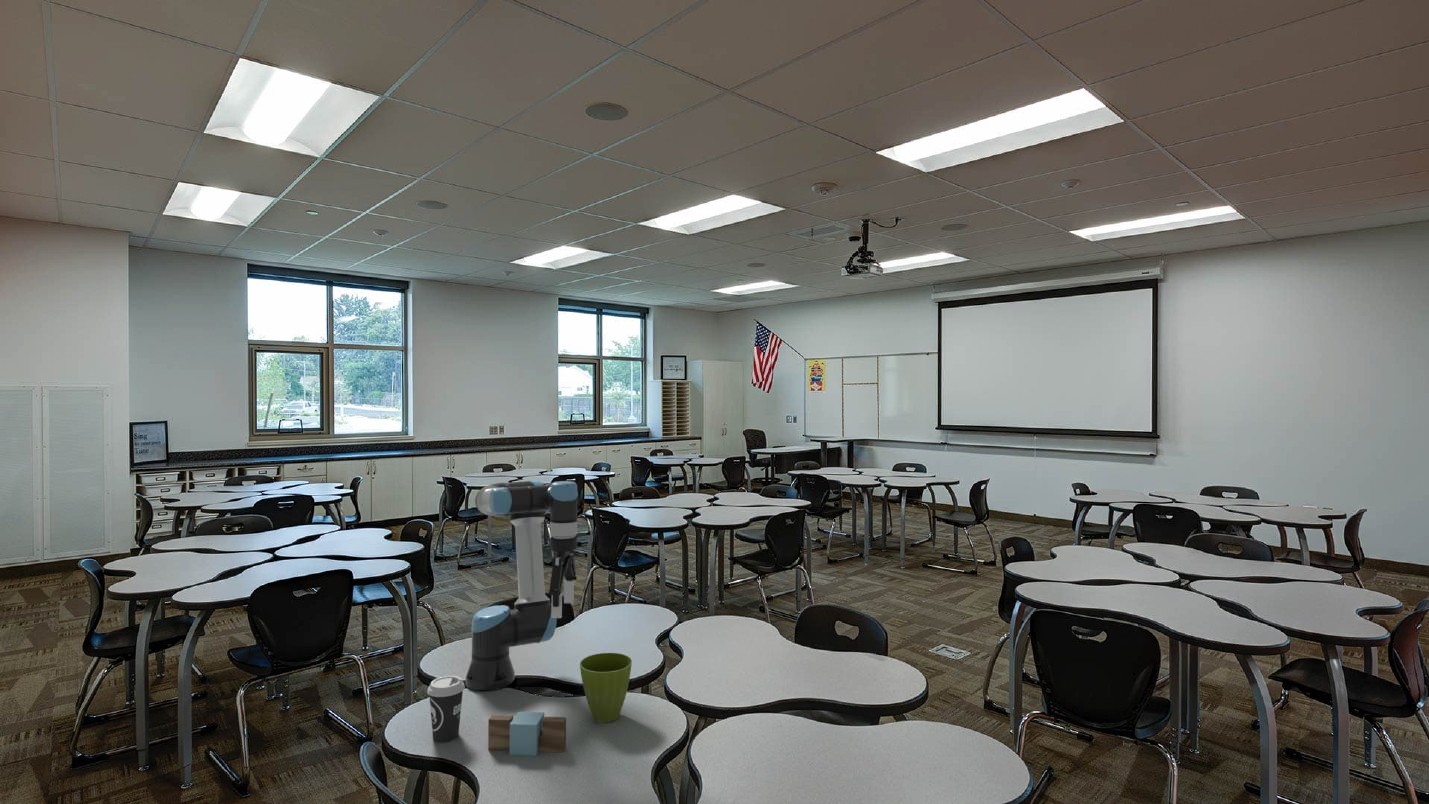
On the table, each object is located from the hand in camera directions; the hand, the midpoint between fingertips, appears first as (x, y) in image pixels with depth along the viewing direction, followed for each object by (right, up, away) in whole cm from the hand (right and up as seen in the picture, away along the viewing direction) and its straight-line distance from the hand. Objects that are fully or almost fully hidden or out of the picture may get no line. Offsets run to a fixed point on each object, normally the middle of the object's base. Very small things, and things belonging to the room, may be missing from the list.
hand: (562, 610), depth 196 cm
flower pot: (+12, -32, +3) cm, 34 cm away
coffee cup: (-30, -32, -10) cm, 44 cm away
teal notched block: (-6, -32, -16) cm, 36 cm away
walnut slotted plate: (-6, -32, -16) cm, 36 cm away
